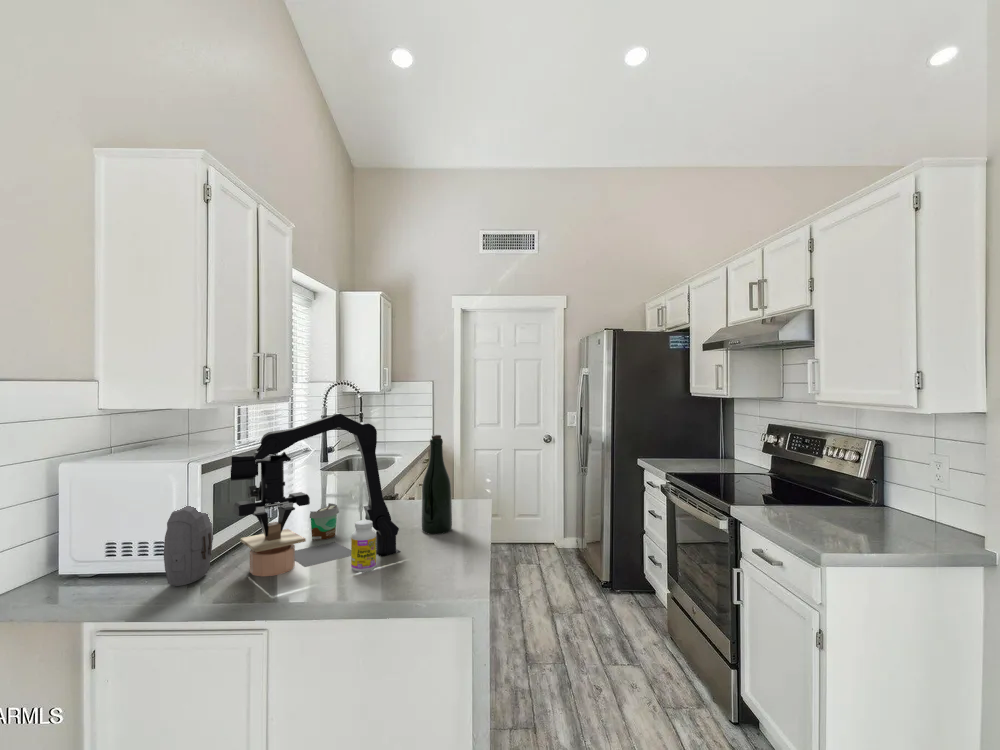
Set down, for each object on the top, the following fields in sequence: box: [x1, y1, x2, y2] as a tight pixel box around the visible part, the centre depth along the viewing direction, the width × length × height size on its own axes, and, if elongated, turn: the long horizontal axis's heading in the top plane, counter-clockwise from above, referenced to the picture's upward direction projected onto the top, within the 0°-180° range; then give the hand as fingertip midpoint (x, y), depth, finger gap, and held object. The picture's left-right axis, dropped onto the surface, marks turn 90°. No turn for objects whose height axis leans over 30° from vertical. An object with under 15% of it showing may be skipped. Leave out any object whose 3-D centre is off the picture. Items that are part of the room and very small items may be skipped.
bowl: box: [249, 544, 296, 577], centre depth 144 cm, size 11×11×6 cm
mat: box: [295, 541, 351, 568], centre depth 157 cm, size 16×16×1 cm
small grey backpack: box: [163, 505, 214, 587], centre depth 137 cm, size 15×8×20 cm, turn 3°
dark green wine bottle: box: [421, 434, 453, 535], centre depth 181 cm, size 10×10×33 cm
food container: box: [309, 502, 340, 541], centre depth 174 cm, size 12×6×10 cm, turn 168°
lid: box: [239, 521, 307, 552], centre depth 144 cm, size 13×13×5 cm
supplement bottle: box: [350, 519, 377, 573], centre depth 145 cm, size 7×7×13 cm
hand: (272, 534), depth 144 cm, fingers closed on lid, 3 cm apart
